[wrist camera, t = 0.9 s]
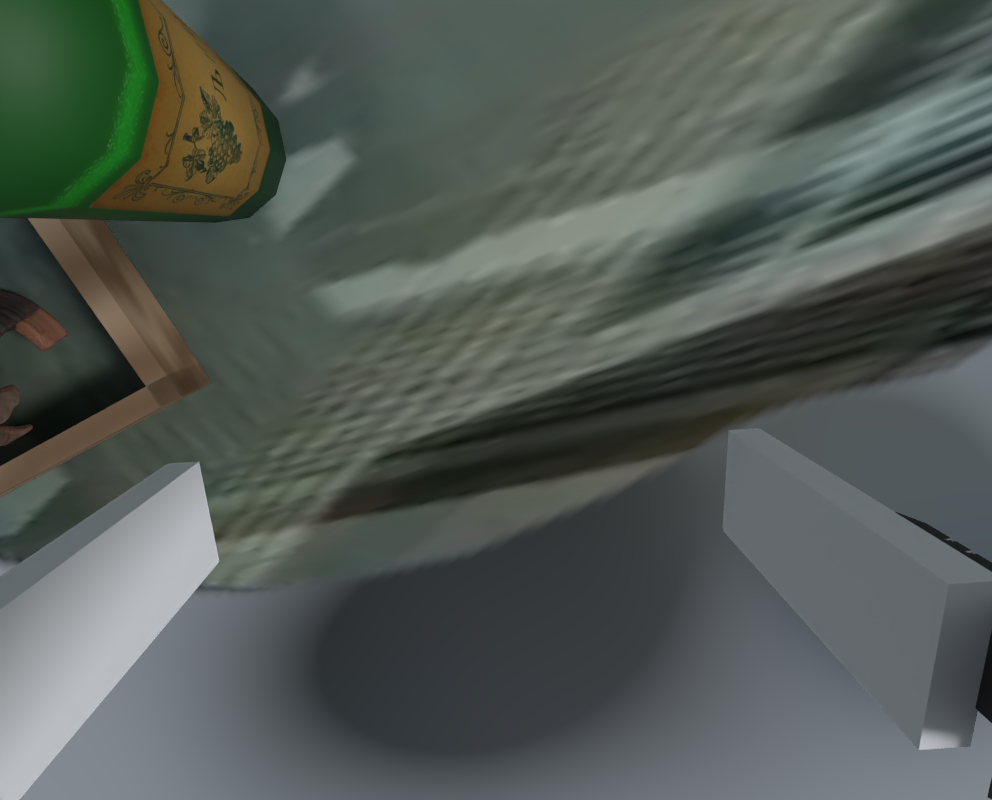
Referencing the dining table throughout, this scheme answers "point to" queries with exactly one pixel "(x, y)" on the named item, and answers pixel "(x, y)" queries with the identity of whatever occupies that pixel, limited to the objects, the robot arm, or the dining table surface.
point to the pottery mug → (42, 330)
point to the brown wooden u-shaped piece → (133, 329)
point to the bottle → (126, 118)
